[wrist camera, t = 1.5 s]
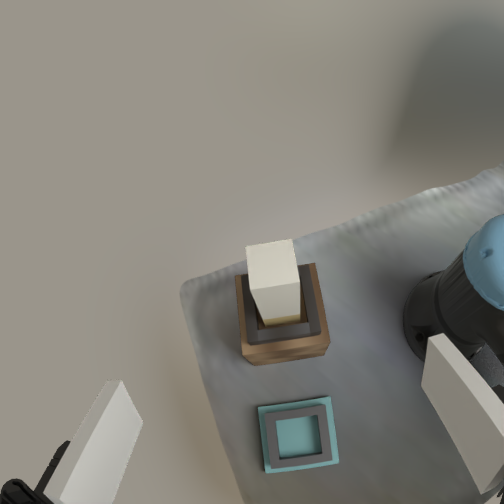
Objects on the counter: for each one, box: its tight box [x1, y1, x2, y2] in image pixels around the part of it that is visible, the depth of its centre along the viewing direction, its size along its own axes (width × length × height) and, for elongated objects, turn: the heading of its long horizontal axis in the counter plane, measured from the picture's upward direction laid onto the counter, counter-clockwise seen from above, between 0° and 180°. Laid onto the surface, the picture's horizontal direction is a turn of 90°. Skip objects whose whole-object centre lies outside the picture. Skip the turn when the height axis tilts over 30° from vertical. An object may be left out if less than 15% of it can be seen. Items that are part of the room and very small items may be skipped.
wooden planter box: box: [235, 263, 330, 366], centre depth 40 cm, size 10×10×12 cm
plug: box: [245, 239, 300, 327], centre depth 31 cm, size 4×4×12 cm
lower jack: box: [258, 396, 339, 473], centre depth 36 cm, size 10×10×3 cm
